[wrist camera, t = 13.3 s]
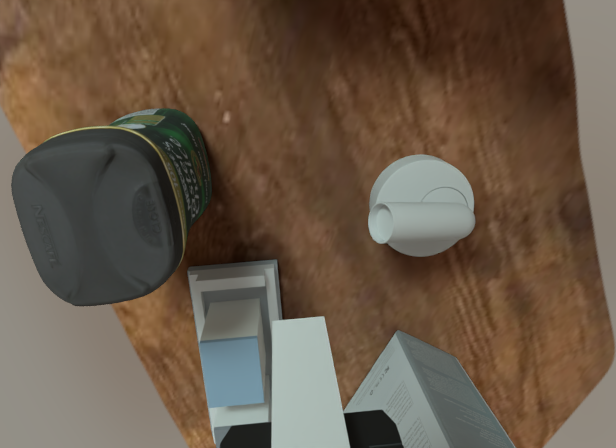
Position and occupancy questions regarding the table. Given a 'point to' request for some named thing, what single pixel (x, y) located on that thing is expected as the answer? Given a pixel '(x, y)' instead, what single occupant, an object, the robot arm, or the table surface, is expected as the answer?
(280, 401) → the robot arm
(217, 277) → the rail
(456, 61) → the table surface
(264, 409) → the block
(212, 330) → the module
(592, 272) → the table surface
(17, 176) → the coffee jar
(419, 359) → the hard drive box
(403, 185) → the wall hook
